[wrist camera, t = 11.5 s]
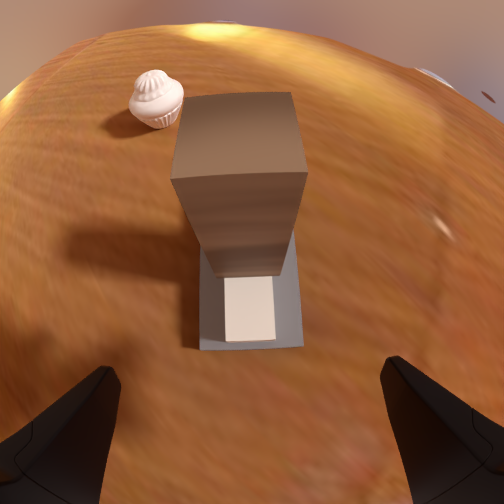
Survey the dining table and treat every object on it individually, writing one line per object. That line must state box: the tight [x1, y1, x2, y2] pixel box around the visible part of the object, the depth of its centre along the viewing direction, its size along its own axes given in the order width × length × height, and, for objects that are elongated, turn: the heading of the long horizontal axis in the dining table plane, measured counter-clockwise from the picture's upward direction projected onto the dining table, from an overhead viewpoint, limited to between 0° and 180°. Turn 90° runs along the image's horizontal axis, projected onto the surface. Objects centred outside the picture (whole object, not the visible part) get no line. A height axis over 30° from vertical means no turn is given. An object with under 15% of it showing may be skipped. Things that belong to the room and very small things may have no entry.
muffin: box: [129, 70, 184, 129], centre depth 25 cm, size 6×6×7 cm
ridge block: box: [199, 231, 304, 351], centre depth 20 cm, size 13×7×4 cm, turn 2°
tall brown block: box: [170, 92, 308, 278], centre depth 13 cm, size 4×4×10 cm
